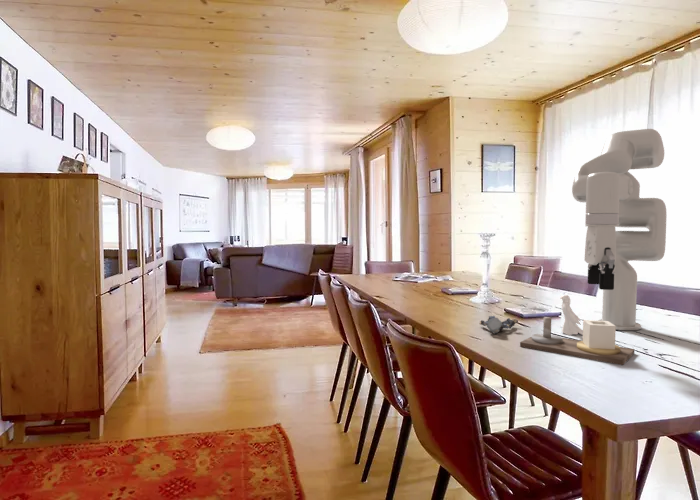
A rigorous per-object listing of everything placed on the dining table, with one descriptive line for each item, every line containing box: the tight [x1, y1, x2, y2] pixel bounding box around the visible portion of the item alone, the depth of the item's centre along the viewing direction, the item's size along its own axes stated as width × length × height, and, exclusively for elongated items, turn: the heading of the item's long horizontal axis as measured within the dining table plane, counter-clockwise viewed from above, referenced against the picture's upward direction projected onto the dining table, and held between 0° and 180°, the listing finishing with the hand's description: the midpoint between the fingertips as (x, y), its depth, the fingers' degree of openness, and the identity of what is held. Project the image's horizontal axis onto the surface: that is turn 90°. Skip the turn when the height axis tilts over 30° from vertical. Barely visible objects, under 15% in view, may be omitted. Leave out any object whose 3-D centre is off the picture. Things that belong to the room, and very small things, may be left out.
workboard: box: [519, 316, 635, 366], centre depth 122 cm, size 13×25×8 cm, turn 47°
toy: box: [479, 315, 519, 335], centre depth 144 cm, size 7×11×15 cm
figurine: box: [560, 294, 583, 336], centre depth 140 cm, size 8×8×12 cm
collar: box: [582, 319, 617, 349], centre depth 118 cm, size 6×6×6 cm
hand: (600, 286), depth 117 cm, fingers open, 9 cm apart
